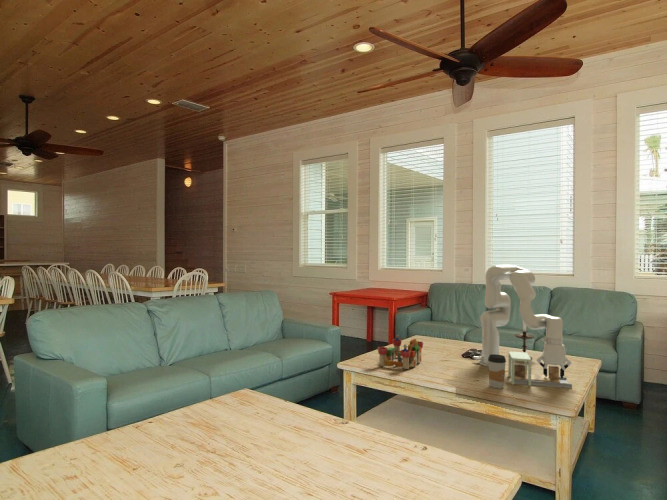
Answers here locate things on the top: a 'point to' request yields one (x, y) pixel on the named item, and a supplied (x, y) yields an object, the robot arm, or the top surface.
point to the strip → (551, 377)
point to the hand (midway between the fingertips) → (553, 376)
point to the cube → (519, 370)
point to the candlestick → (524, 337)
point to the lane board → (546, 383)
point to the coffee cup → (496, 370)
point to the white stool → (519, 357)
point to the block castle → (401, 354)
